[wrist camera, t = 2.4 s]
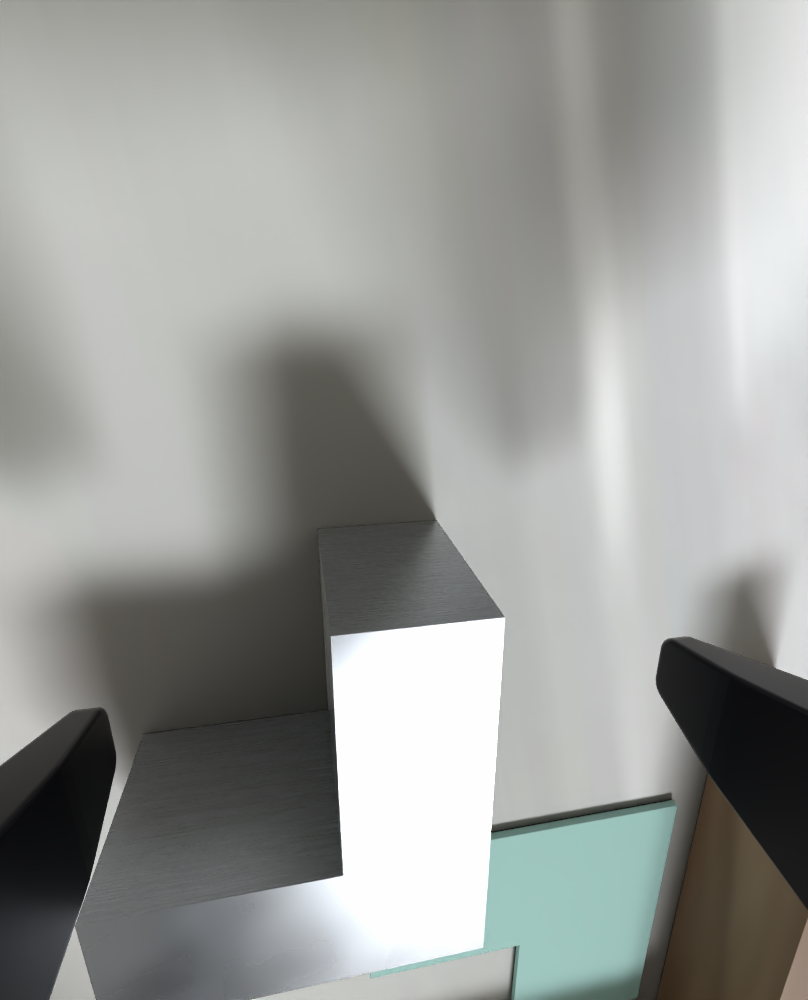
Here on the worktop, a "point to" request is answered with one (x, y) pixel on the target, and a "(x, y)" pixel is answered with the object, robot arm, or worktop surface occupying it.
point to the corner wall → (734, 918)
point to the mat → (575, 902)
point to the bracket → (318, 800)
